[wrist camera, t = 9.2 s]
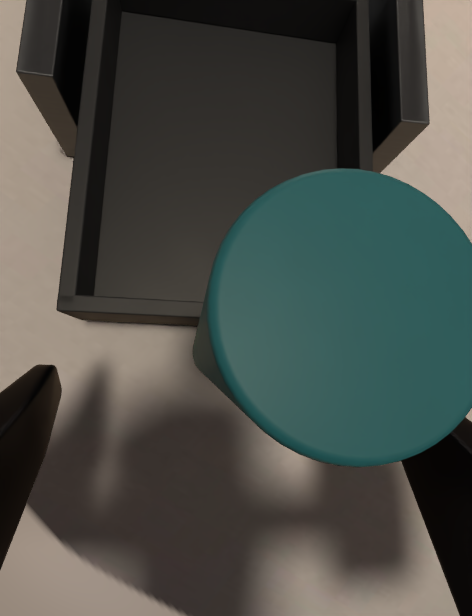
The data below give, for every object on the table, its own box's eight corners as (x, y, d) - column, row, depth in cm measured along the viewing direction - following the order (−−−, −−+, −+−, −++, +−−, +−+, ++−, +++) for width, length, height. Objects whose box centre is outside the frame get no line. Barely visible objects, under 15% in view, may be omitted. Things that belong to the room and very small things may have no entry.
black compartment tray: (346, 381, 16) (1004, 471, 3) (74, 373, 14) (-819, 473, 2) (342, 45, 18) (684, -663, 6) (112, 11, 17) (-120, -1039, 4)
